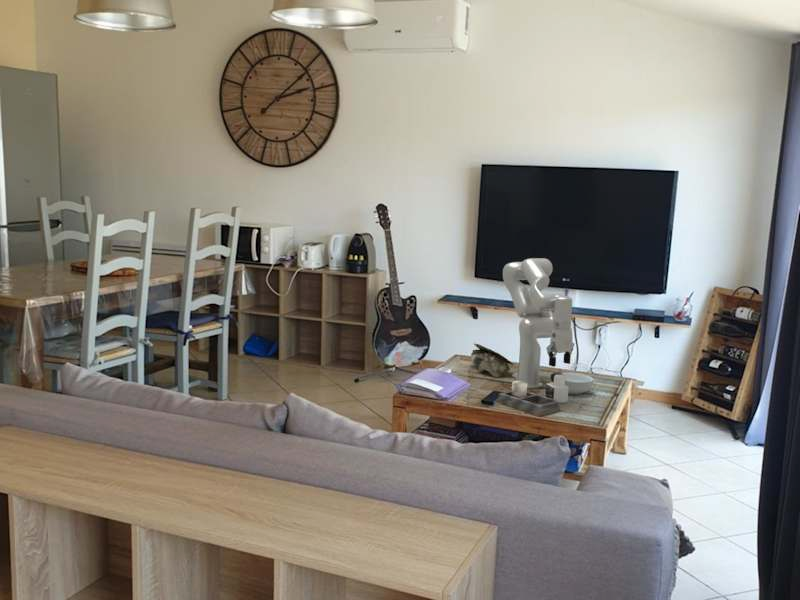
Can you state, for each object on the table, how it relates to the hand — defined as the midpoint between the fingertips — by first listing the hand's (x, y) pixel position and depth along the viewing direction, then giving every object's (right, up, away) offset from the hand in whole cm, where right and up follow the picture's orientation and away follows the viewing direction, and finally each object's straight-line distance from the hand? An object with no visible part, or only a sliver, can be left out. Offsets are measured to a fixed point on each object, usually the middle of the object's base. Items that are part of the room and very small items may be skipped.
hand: (559, 364), depth 343 cm
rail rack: (-14, -17, -7) cm, 23 cm away
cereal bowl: (+10, -14, +18) cm, 25 cm away
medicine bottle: (-1, -16, +3) cm, 16 cm away
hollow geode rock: (-24, -8, +51) cm, 57 cm away
